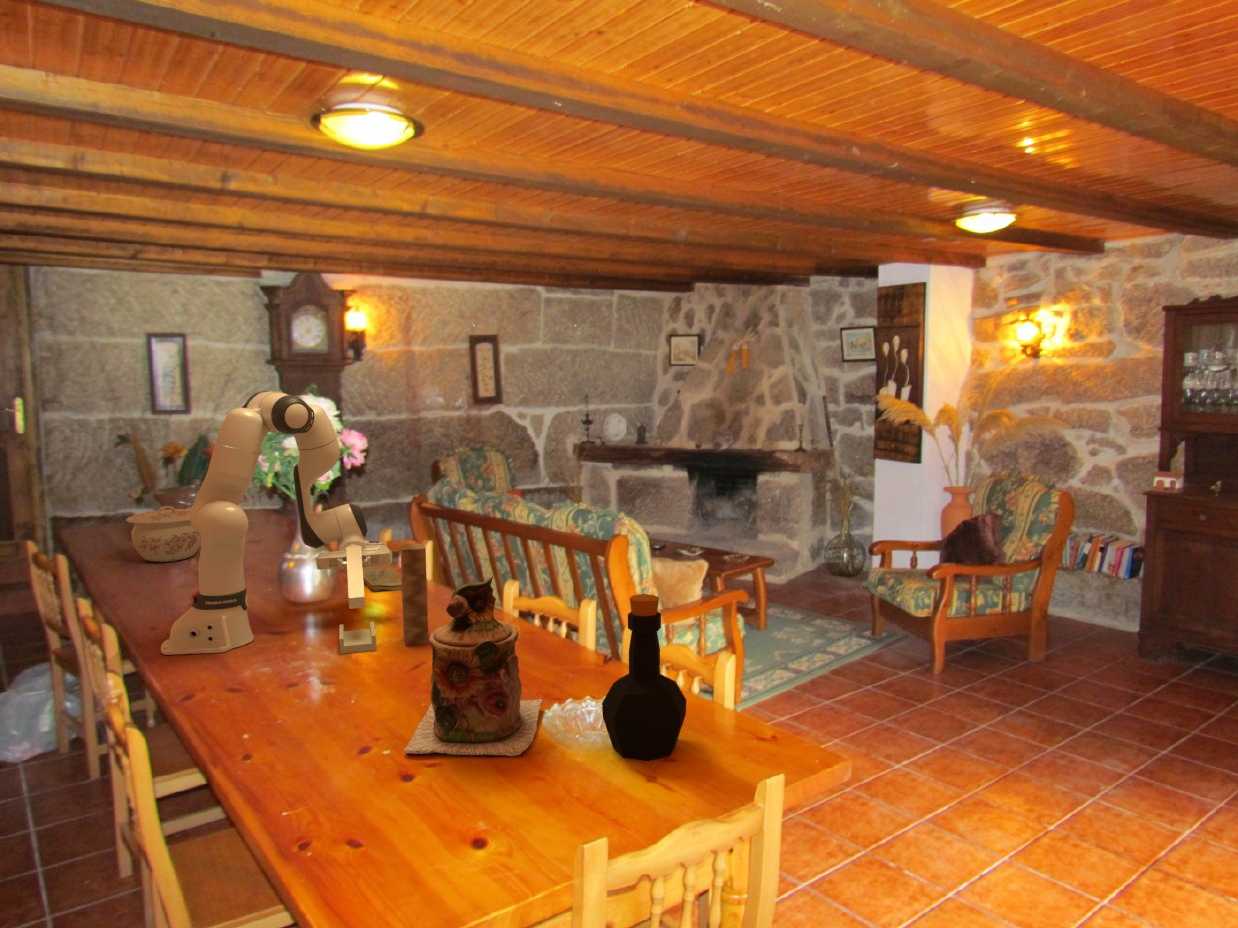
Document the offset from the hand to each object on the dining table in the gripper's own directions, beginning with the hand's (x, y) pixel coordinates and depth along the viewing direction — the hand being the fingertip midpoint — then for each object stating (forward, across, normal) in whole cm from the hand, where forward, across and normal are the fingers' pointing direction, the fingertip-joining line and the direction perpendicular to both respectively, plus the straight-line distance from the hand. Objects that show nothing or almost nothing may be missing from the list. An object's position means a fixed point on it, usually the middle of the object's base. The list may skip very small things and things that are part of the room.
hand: (354, 564), depth 240 cm
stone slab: (-56, +9, +20) cm, 60 cm away
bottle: (+94, +52, +19) cm, 109 cm away
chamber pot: (-119, -67, +19) cm, 138 cm away
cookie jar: (+77, +22, +19) cm, 82 cm away
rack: (+12, 0, +19) cm, 22 cm away
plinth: (+14, +15, +19) cm, 28 cm away
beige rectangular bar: (+2, 0, +4) cm, 5 cm away
